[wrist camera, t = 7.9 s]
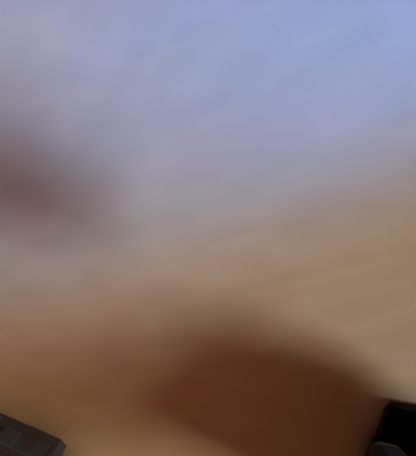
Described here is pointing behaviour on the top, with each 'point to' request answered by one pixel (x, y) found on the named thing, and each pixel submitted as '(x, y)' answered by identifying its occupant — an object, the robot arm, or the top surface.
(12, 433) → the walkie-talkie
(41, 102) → the top surface
